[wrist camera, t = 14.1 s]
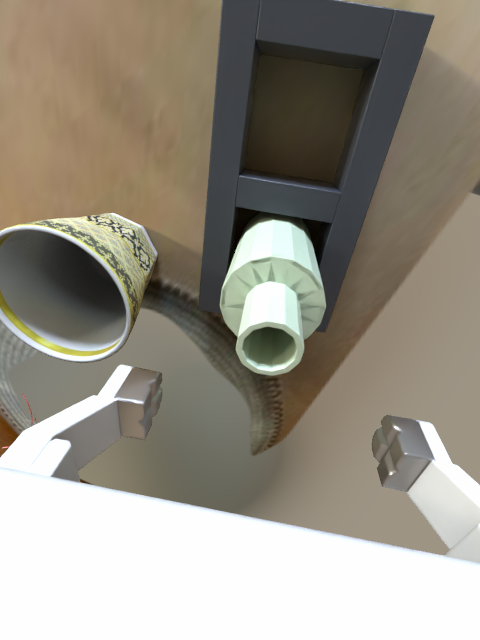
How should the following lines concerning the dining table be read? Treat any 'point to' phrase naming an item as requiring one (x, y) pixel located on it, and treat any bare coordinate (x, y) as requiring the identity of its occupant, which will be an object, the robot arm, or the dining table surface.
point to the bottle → (273, 293)
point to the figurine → (30, 411)
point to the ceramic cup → (74, 284)
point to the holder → (360, 143)
